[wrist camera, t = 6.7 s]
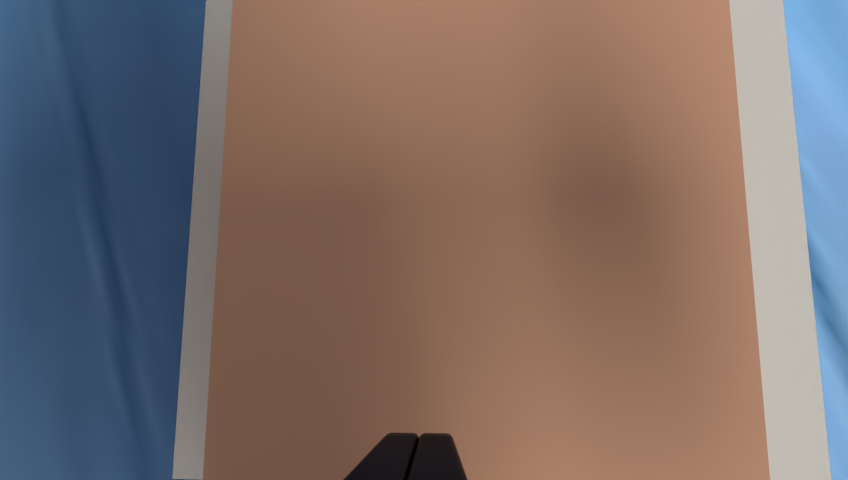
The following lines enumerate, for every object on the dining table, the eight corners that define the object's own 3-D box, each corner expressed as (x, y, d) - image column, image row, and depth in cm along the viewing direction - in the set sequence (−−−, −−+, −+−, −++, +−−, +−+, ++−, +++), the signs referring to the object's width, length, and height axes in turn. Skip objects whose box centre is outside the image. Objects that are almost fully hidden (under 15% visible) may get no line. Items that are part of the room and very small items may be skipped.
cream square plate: (822, 491, 17) (832, 494, 17) (183, 476, 20) (172, 478, 19) (766, -79, 20) (773, -93, 20) (217, -32, 23) (208, -43, 22)
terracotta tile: (778, 575, 14) (723, -68, 17) (198, 552, 16) (234, -27, 19) (744, 549, 17) (700, -12, 20) (242, 531, 19) (268, 20, 21)
